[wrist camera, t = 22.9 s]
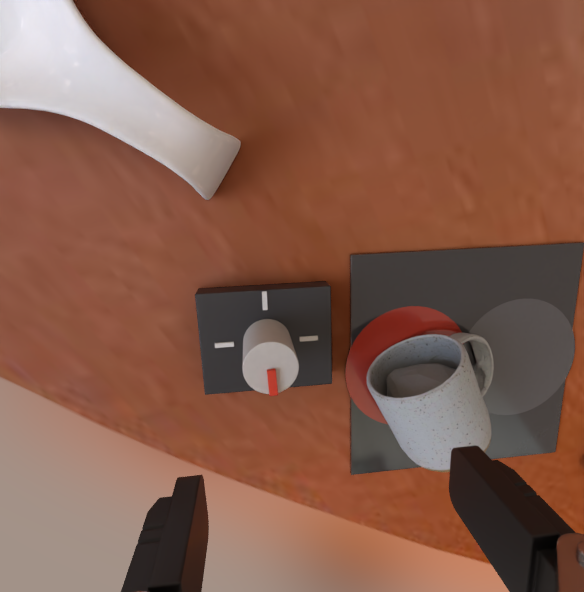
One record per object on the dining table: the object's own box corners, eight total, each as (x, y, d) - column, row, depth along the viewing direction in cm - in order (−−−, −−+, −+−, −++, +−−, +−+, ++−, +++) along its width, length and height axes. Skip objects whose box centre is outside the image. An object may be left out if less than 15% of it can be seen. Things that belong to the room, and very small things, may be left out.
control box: (325, 280, 31) (331, 286, 29) (327, 373, 33) (332, 384, 31) (198, 288, 30) (194, 294, 28) (207, 383, 32) (204, 396, 30)
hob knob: (240, 321, 29) (239, 347, 24) (288, 316, 29) (297, 339, 24) (245, 366, 30) (245, 400, 25) (292, 360, 30) (301, 392, 25)
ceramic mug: (393, 438, 35) (435, 501, 27) (353, 366, 33) (386, 413, 25) (496, 379, 35) (565, 426, 27) (462, 303, 33) (527, 332, 25)
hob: (587, 242, 33) (590, 242, 33) (557, 449, 38) (560, 451, 37) (343, 254, 31) (344, 255, 31) (345, 473, 36) (345, 475, 35)
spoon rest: (-155, 46, 24) (-318, -17, 17) (-85, -145, 23) (-232, -299, 16) (191, 240, 29) (174, 251, 22) (269, 95, 28) (277, 59, 21)
